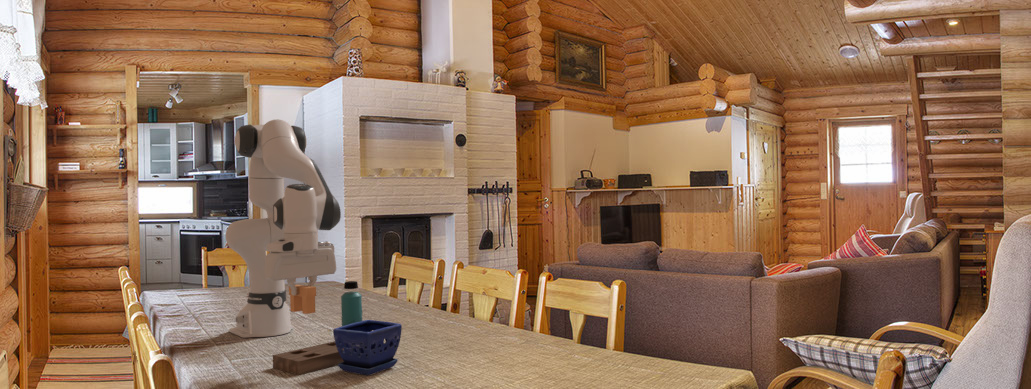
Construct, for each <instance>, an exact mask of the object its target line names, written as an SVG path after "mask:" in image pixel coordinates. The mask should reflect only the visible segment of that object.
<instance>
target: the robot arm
mask: <svg viewBox="0 0 1031 389" xmlns="http://www.w3.org/2000/svg"><path fill="white" fill-rule="evenodd" d="M307 140H308V139H307V136H306V132H305V131H304V129H303V128H302V127H300V126H297V125H290V124H289V122H287V121H286V120H283V119H272V120H269V121H267V122H266V123H264V124H245V125H242V126H240V127H239V128H238V129H237V130H236V133H235V136H234V145H235V148H236V150H237V153H238V155H240V156H242V157H245V158H249V159H250V162H249V169H248V170H249V171H248V172H249V174H248V175H249V178H248V187H249V188H248V193H249V194H248V195H249V196H248V197H249V200H250V202H251V203H252V204H253V205H254V206H255V207H258V208H260V209H262V210H263V211H266V215H267V217H264V218H245V219H241V220H237V221H236V220H235V221H232V222H231V223H230V224H228V226H227V229H226V230H225V241H226V244H227V246H228V247H229V249H231V250H233V251H234V253H236V254H238V255H239V256H240V257H241V258H242V260H243V261H244V262H245V265H246V266H247V267H246V268H247V270H248V276H249V288H250V289H249V290H250V291H249V293H248V295H247V296H246V298H247V304H245V306H243V308H242V309H241V310H240V311H238V313H237V315H236V317H235V322H236V326H234V327H230V328H229V329H228V332H229V333H231V334H233V335H236V336H238V337H241V338H243V339H245V338H263V337H264V338H265V337H275V336H281V335H284V334H287V333H290V332H291V331H292V330H293V329H294V324H292V323H291V314H290V313H291V311H290V306H289V304H287V303H286V301H287V296H288V295H287V290H286V289H285V284H286V283H287V285H288V287H289V286H290V288H291V294H292V295H299V294H300V292H299V288H296V286H295V285H296V284H295V283H296V282H297V279H303V278H307V280H308V281H309V282H308V284H307V286H313V287H315V285H316V282H317V281H318V279H317V278H318V276H319V277H320V276H328V275H334V274H335V273H336V271H337V262H336V256H335V245H334V244H333V243H331V241H319V234H318V230H319V231H331V230H333V229H334V228H335V227H336V226H337V225H338V224H339V223H340V221H341V218H342V217H341V215H342V214H341V207H340V204H339V201H338V200H337V199H336V197H335V196H334V195H333V194H332V191H331V190H330V188H329V186H328V184H327V182H326V180H325V178H324V175H323V174H322V172H321V170H320V168H319V167H318V164H317V163H316V162H315V160H313V159H312V158H310V157H309V156H307V155H306V154H305V151H306V148H307V145H308V144H307V143H308V142H307ZM285 179H291V180H295V181H298V182H301V183H294V184H289V185H286V186H285ZM266 252H268V253H266ZM285 280H286V281H285ZM285 282H286V283H285Z"/></svg>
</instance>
